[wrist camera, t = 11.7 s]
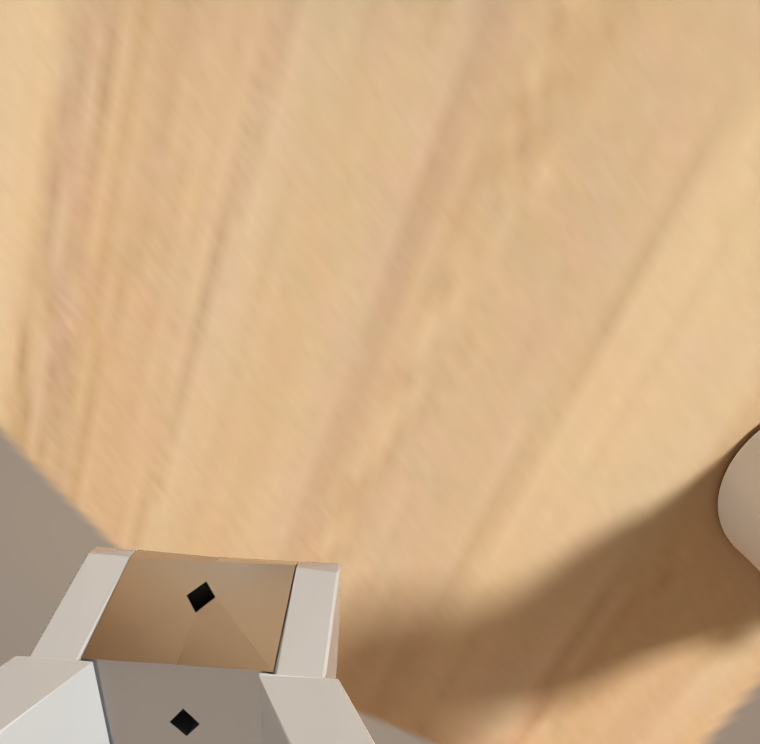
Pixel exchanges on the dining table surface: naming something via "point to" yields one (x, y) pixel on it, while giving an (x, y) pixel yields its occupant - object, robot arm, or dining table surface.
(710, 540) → the dining table surface
